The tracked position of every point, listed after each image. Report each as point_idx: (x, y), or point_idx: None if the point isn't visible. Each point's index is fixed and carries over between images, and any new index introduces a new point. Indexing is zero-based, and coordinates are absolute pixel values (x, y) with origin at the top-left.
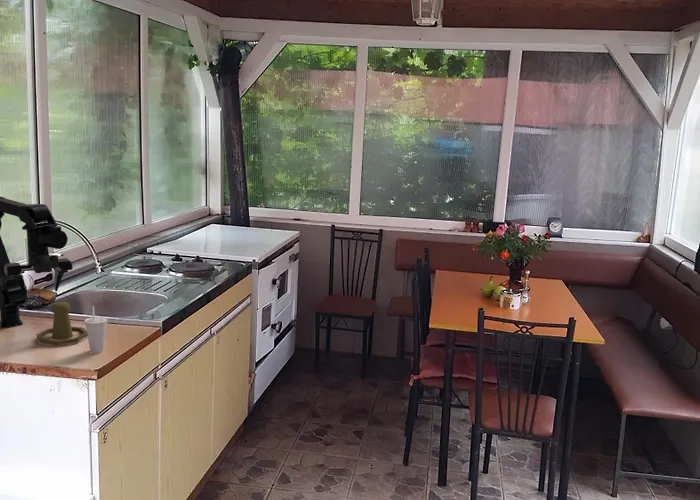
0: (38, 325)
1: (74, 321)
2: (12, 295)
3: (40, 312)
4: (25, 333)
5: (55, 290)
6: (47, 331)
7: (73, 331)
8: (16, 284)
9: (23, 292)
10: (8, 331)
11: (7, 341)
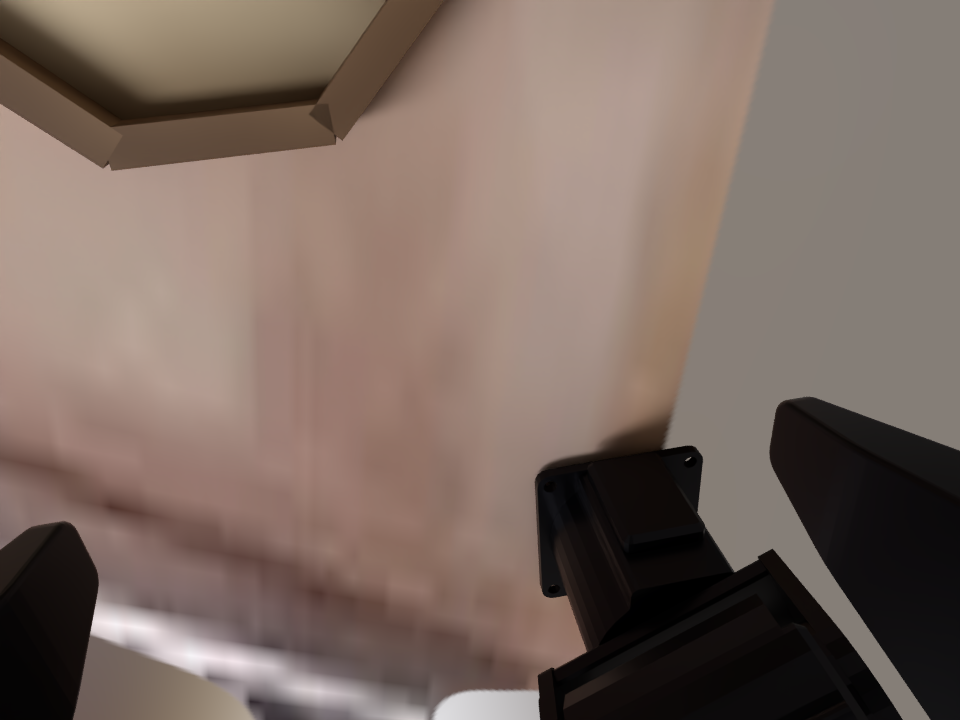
0: (416, 421)
1: (75, 443)
2: (762, 675)
3: (380, 696)
4: (551, 228)
5: (66, 550)
6: (344, 61)
7: (14, 15)
8: None
9: (868, 424)
10: (669, 338)
11: (750, 26)
